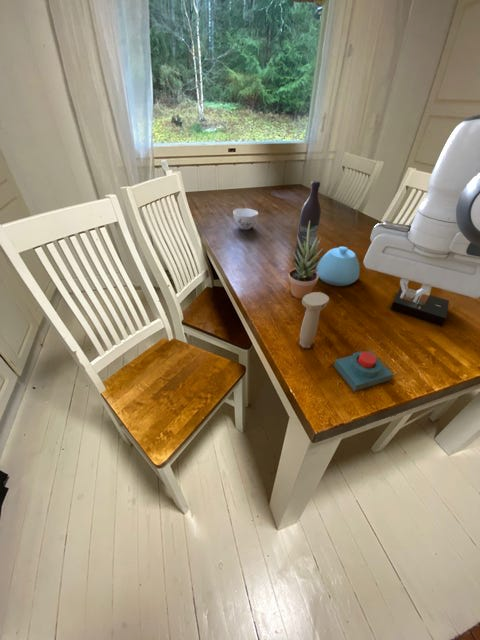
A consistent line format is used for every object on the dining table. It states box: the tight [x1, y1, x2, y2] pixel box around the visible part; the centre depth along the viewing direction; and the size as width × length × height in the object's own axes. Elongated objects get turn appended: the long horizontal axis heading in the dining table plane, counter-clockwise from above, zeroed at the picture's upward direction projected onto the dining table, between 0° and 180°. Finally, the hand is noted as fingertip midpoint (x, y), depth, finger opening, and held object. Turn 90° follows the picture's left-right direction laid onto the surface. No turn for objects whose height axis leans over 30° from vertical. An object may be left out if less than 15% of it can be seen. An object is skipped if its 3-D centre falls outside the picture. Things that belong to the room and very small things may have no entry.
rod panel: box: [390, 286, 450, 327], centre depth 85 cm, size 14×11×3 cm
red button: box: [358, 351, 377, 368], centre depth 63 cm, size 4×4×2 cm
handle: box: [299, 291, 330, 349], centre depth 68 cm, size 5×6×15 cm
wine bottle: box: [293, 180, 322, 267], centre depth 100 cm, size 7×7×30 cm
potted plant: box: [288, 221, 325, 299], centre depth 84 cm, size 10×10×25 cm
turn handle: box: [417, 286, 433, 306], centre depth 83 cm, size 6×2×4 cm, turn 145°
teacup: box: [232, 207, 259, 230], centre depth 138 cm, size 15×12×8 cm
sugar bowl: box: [315, 246, 361, 287], centre depth 97 cm, size 15×15×12 cm
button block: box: [333, 350, 394, 392], centre depth 64 cm, size 10×8×4 cm
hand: (408, 298), depth 54 cm, fingers closed
